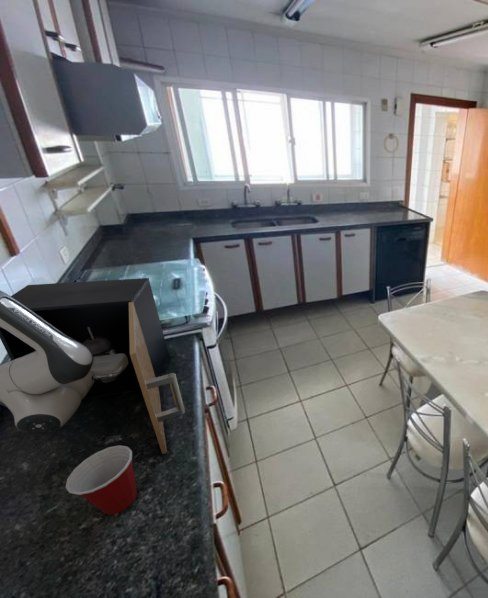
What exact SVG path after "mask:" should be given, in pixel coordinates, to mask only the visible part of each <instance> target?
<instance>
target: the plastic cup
mask: <svg viewBox="0 0 488 598" xmlns="http://www.w3.org/2000/svg"><path fill="white" fill-rule="evenodd" d="M65 483H66V484H65V489H66V491H68V493H69V494H72V495H78V496H80V497H81V498H84V499H85V500H87V501H88V502H89V503H90V504H92V505H93V506H94V507H96V508H97V509H98V510H100V511H101V512H102V513H104V514H105V515H114V514H116V515H117V514H119V513H121V512H123V511H125V510H126V509H127V508H129V507H130V506H131V505H132V504H133V503H134V501H135V500H136V498H137V496H138V490H137V485H136V484H137V481H136V476H135V472H134V466H133V450H132V449H131V448H130V447H129V446H126V445H114V446H109V447H106V448H104V449H102V450H99V451H97V452H95V453H94V454H92V455H90V456H89V457H87V458H86V459H84V460H82V461H81V463H79V464H78V465H77V466H76V467H75V468H74V469H73V471H71V473H70V474H69V476H68V477H67V479H66V482H65Z"/></svg>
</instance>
